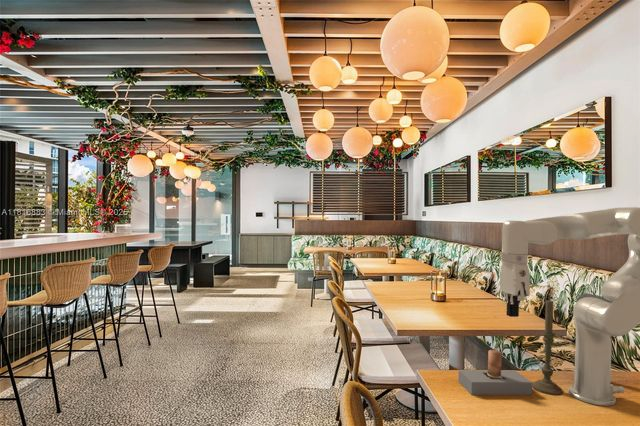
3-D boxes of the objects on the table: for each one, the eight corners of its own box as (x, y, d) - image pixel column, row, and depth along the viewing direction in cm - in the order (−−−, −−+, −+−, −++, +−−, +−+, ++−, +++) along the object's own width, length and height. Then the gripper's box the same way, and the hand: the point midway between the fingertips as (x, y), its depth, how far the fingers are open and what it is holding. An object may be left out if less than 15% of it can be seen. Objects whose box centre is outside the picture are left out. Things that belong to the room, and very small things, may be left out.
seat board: (514, 381, 139) (514, 370, 139) (531, 394, 129) (532, 382, 129) (458, 381, 137) (458, 369, 137) (471, 394, 127) (471, 382, 127)
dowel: (496, 385, 135) (497, 349, 135) (503, 390, 131) (504, 354, 131) (484, 385, 135) (485, 349, 135) (490, 390, 131) (492, 353, 131)
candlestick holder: (550, 396, 128) (553, 302, 128) (525, 385, 136) (528, 296, 136) (569, 392, 132) (572, 301, 132) (543, 381, 140) (546, 295, 140)
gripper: (539, 262, 122) (537, 322, 122) (512, 256, 137) (511, 310, 137) (516, 261, 121) (514, 322, 121) (491, 256, 136) (489, 310, 136)
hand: (512, 315), depth 129 cm, fingers closed
